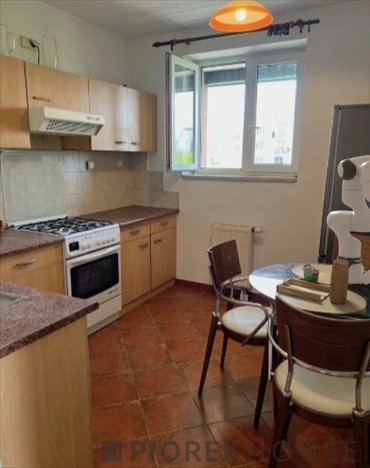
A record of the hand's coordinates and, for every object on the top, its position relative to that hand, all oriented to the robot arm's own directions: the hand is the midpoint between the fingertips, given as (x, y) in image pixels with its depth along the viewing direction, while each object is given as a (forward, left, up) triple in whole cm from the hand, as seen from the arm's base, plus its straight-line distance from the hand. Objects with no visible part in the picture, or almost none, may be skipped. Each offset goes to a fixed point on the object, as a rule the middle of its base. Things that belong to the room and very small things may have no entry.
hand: (359, 281), depth 161 cm
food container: (-13, -29, -11) cm, 34 cm away
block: (0, -9, -11) cm, 15 cm away
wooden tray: (0, -26, -11) cm, 28 cm away
